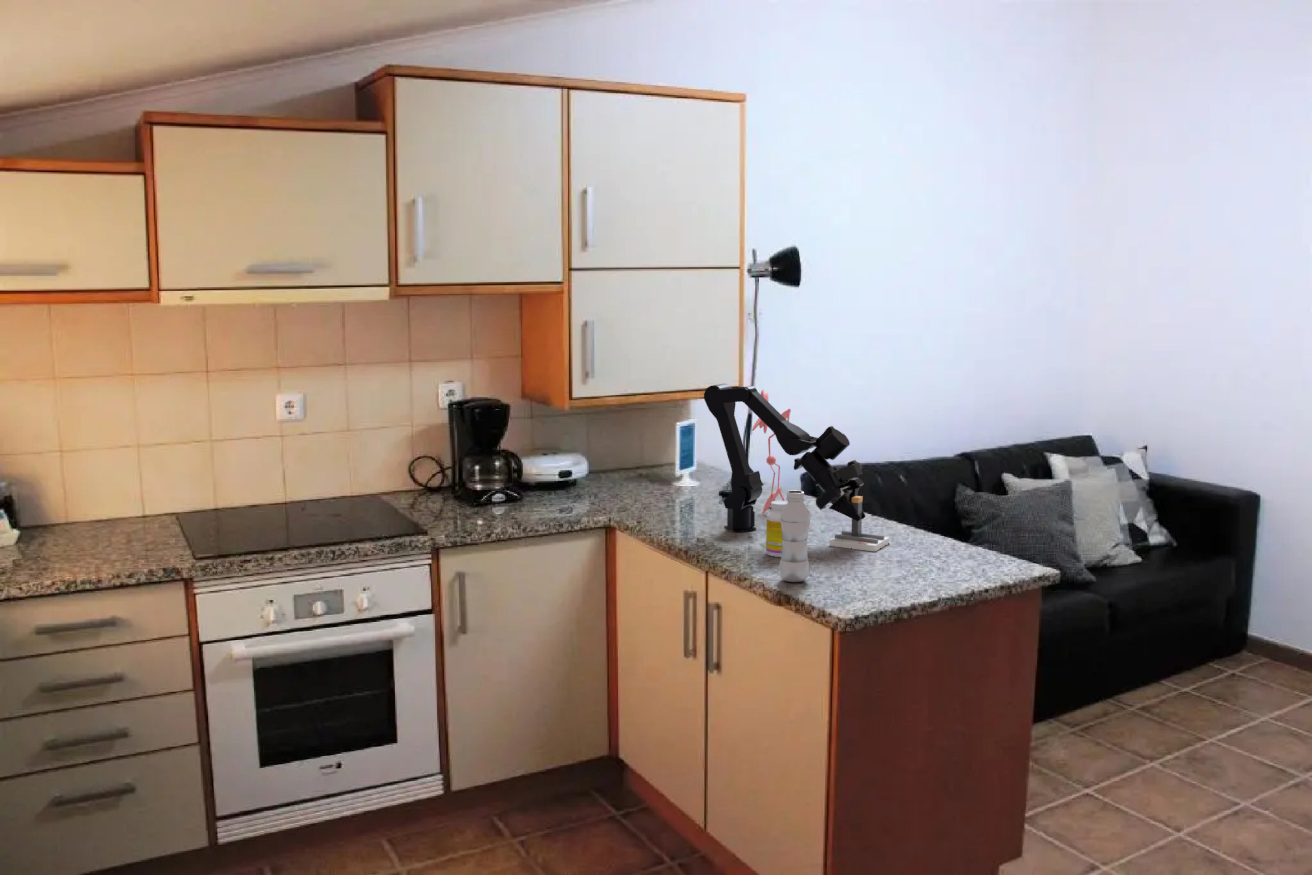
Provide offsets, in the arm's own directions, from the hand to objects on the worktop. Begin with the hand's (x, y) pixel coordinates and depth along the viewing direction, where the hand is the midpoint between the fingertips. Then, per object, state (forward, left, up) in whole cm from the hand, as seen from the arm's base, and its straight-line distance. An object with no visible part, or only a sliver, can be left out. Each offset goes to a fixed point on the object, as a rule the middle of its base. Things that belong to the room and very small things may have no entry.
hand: (861, 519), depth 276 cm
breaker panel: (0, 0, -7) cm, 7 cm away
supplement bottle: (-23, 0, -7) cm, 24 cm away
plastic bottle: (-33, -22, -7) cm, 40 cm away
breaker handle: (-1, +1, -5) cm, 5 cm away
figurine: (0, +47, -7) cm, 48 cm away
